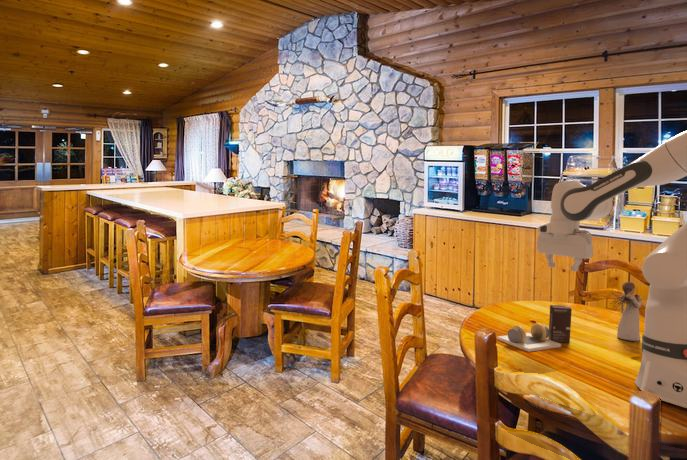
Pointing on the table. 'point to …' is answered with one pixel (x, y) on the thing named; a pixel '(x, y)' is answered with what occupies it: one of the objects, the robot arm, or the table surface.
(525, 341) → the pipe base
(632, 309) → the figurine
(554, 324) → the box
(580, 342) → the table surface
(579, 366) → the table surface
